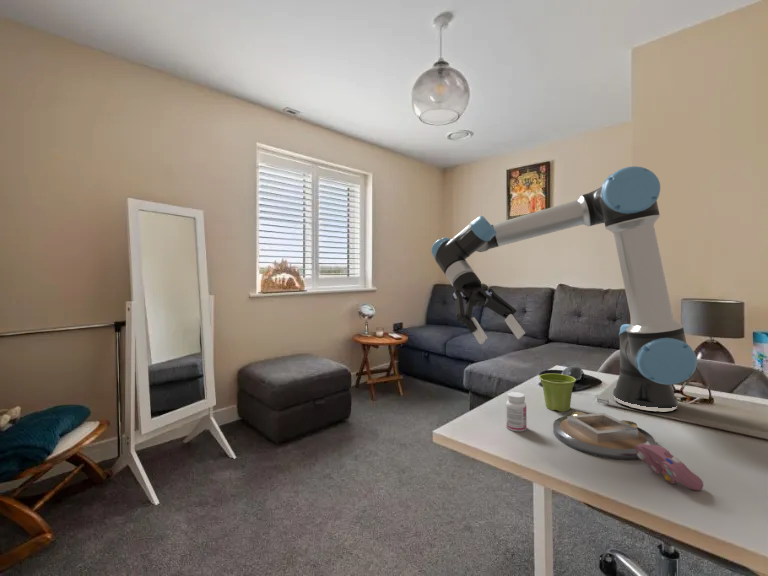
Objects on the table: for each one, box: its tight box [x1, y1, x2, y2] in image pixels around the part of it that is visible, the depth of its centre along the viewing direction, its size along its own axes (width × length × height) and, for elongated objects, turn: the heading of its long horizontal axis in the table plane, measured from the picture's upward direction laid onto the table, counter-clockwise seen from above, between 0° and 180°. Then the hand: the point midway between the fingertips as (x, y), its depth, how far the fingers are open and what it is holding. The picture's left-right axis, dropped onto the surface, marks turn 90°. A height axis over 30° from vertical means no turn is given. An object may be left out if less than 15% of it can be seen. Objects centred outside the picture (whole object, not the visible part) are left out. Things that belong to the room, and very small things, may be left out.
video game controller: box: [635, 442, 704, 492], centre depth 66 cm, size 10×5×7 cm, turn 5°
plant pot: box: [538, 373, 577, 412], centre depth 102 cm, size 9×9×9 cm
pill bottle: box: [505, 391, 528, 432], centre depth 89 cm, size 5×5×8 cm
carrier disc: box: [552, 411, 656, 461], centre depth 83 cm, size 20×20×4 cm
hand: (503, 338), depth 92 cm, fingers open, 13 cm apart
